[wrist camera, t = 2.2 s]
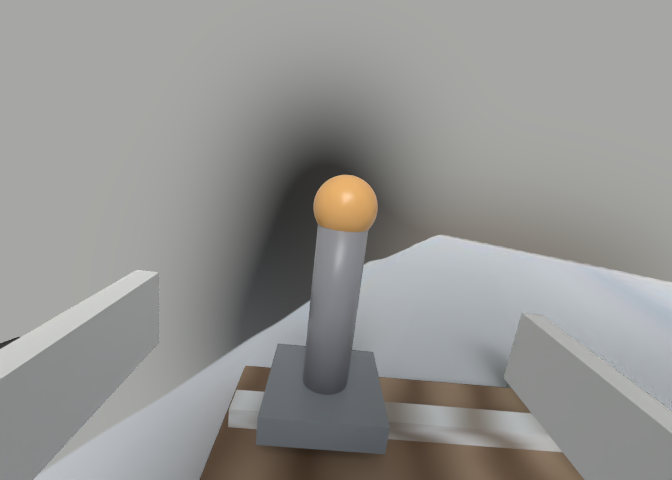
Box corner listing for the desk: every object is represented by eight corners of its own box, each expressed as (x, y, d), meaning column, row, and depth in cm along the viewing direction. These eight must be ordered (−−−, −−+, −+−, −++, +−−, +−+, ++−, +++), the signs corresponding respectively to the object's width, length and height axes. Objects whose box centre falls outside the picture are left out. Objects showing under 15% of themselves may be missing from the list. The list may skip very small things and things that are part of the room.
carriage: (368, 382, 28) (399, 178, 24) (382, 467, 21) (433, 188, 16) (275, 375, 28) (291, 165, 24) (254, 458, 20) (273, 170, 16)
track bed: (550, 398, 33) (567, 344, 31) (706, 568, 19) (749, 487, 18) (247, 373, 31) (250, 315, 30) (185, 537, 18) (184, 447, 16)
